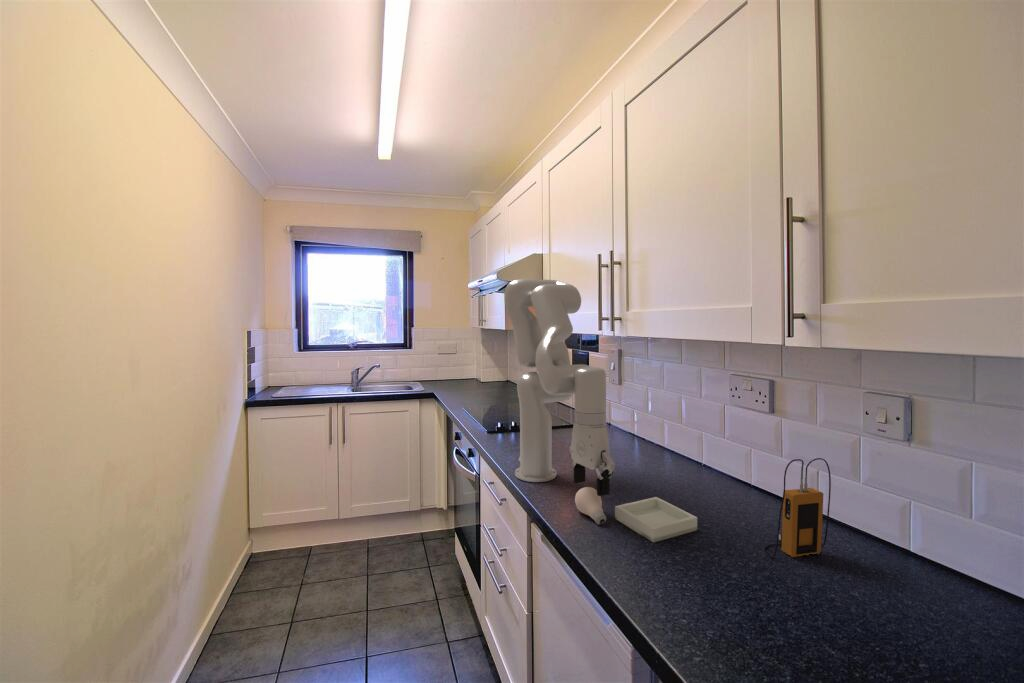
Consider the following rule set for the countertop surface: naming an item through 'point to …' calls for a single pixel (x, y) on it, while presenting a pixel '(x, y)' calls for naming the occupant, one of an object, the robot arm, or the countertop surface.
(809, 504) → the multimeter
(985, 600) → the countertop surface
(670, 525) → the tray
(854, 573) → the countertop surface
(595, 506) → the light bulb
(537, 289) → the robot arm
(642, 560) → the countertop surface
